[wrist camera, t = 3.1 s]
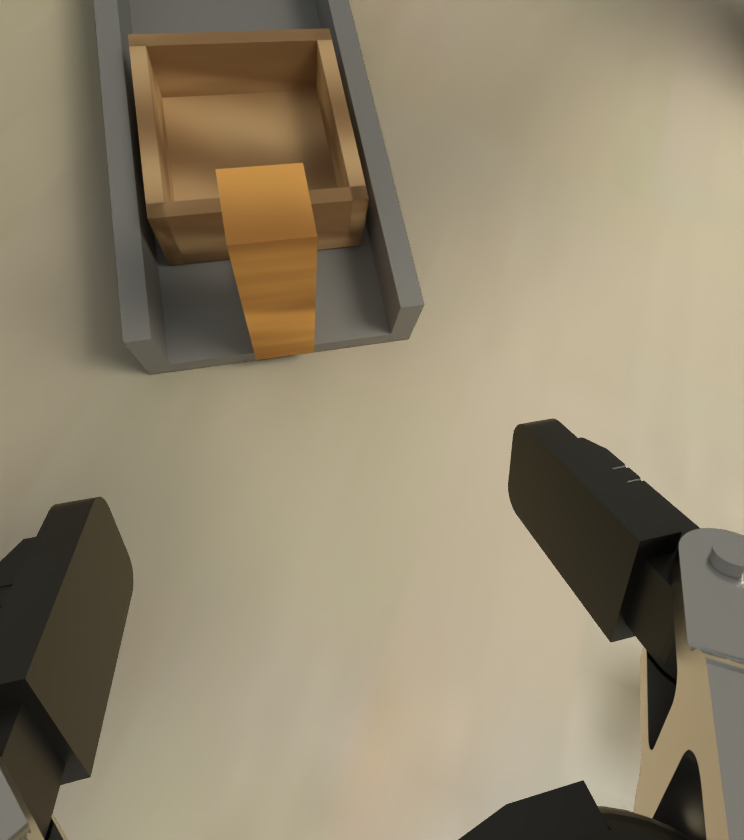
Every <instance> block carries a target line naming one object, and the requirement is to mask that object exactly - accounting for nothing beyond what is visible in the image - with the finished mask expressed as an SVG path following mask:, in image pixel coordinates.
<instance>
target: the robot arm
mask: <svg viewBox="0 0 744 840" xmlns="http://www.w3.org/2000/svg"><path fill="white" fill-rule="evenodd" d="M508 492H509V498H510V501H511V504H512V507H513V509H514V511H515V513H516V514H517V516H518V517H519V518H520V520H521V521H522V523H523V524H524V525H525V527H526V528H527V529H528V531H529V532H530V533H531V535H532V536H533V538H534V539H535V540H536V542H537V543H538V544H539V546H540V547H541V548H542V550H543V551H544V552H545V554H546V555H547V557H548V558H549V559H550V561H551V562H552V563H553V565H554V566H555V567H556V569H557V570H558V572H559V573H560V574H561V576H562V577H563V578H564V580H565V581H566V582H567V584H568V585H569V586H570V588H571V589H572V591H573V592H574V593H575V595H576V596H577V597H578V599H579V600H580V601H581V603H582V604H583V606H584V607H585V608H586V610H587V611H588V612H589V614H590V615H591V616H592V618H593V619H594V620H595V622H596V623H597V625H598V626H599V627H600V629H601V630H602V631H603V633H604V634H605V635H606V637H607V638H608V640H609V641H610V642H614V641H618V640H622V639H626V638H630V637H633V636H636V637H637V639H638V640H639V641H640V642H641V644H642V645H643V646H644V647H643V650H642V653H641V657H640V714H641V763H640V774H639V780H638V785H637V790H636V796H635V804H634V812H630V811H627V810H622V809H616V808H610V807H603V806H597V805H596V803H595V801H594V799H593V797H592V795H591V794H590V792H589V790H588V788H587V786H586V784H585V782H584V781H580V782H576V783H573V784H570V785H567V786H564V787H560V788H557V789H554V790H551V791H548V792H544V793H541V794H538V795H535V796H532V797H529V798H525V799H522V800H519V801H516V802H513V803H509V804H506V805H505V806H504V807H502V808H501V809H499V810H498V811H497V812H495V813H494V814H493V815H491V816H490V817H489V818H487V819H486V820H484V821H483V822H482V823H480V824H479V825H478V826H476V827H475V828H474V829H472V830H471V831H469V832H468V833H467V834H465V835H464V836H463V837H461V838H460V839H459V840H744V535H741V534H738V533H735V532H731V531H727V530H722V529H714V528H701V529H700V528H699V527H698V526H697V525H696V524H694V523H693V522H692V521H691V520H690V519H689V518H687V517H686V516H685V515H684V514H683V513H682V512H680V511H679V510H678V509H677V508H676V507H674V506H673V505H672V504H671V503H670V502H669V501H667V500H666V499H665V498H664V497H663V496H662V495H660V494H659V493H658V492H657V491H656V490H654V489H653V488H652V487H651V486H650V485H649V484H647V483H646V482H645V481H641V480H640V477H639V476H638V475H637V474H636V473H635V472H633V471H632V470H631V469H630V468H626V467H625V464H624V463H623V462H622V461H620V460H619V459H618V458H617V457H616V456H615V455H613V454H612V453H611V452H610V451H609V450H608V449H606V448H604V447H602V446H599V445H597V444H595V443H593V442H591V441H589V440H587V439H585V438H577V437H576V436H575V435H574V434H573V433H571V432H570V431H569V430H568V429H567V428H566V427H565V426H564V425H563V424H561V423H560V422H559V421H558V420H556V419H547V420H541V421H536V422H530V423H524V424H519V425H517V426H516V428H515V430H514V434H513V442H512V452H511V461H510V471H509V481H508ZM132 591H133V570H132V565H131V561H130V557H129V555H128V552H127V550H126V547H125V545H124V543H123V540H122V538H121V535H120V533H119V530H118V528H117V525H116V523H115V521H114V518H113V516H112V513H111V511H110V508H109V506H108V504H107V502H106V501H105V500H104V499H103V498H102V497H96V498H90V499H84V500H78V501H73V502H67V503H61V504H56V505H54V506H52V507H51V509H50V510H49V512H48V514H47V516H46V518H45V520H44V522H43V524H42V526H41V528H40V530H39V532H38V534H37V536H36V537H33V538H27V539H23V540H22V541H21V542H20V543H19V544H18V545H17V546H16V547H15V548H14V549H13V550H12V551H11V552H10V553H9V554H8V555H7V556H6V557H5V558H3V559H2V560H1V561H0V840H68V839H67V837H66V836H65V834H64V832H63V830H62V828H61V827H60V825H59V823H58V821H57V820H56V818H55V817H54V816H53V814H52V813H53V809H54V806H55V802H56V798H57V794H58V791H59V787H60V785H62V784H66V783H70V782H74V781H77V780H81V779H85V778H89V777H91V772H92V768H93V763H94V759H95V755H96V750H97V746H98V741H99V737H100V733H101V728H102V724H103V719H104V715H105V711H106V706H107V702H108V697H109V693H110V689H111V684H112V680H113V675H114V671H115V667H116V662H117V658H118V653H119V649H120V645H121V640H122V636H123V631H124V627H125V623H126V618H127V614H128V609H129V605H130V601H131V596H132Z"/></svg>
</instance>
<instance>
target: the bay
mask: <svg viewBox="0 0 744 840" xmlns="http://www.w3.org/2000/svg"><path fill="white" fill-rule="evenodd" d="M93 1H94V13H95V24H96V36H97V48H98V59H99V71H100V83H101V94H102V106H103V118H104V129H105V141H106V152H107V164H108V176H109V187H110V199H111V211H112V222H113V234H114V246H115V257H116V269H117V281H118V292H119V304H120V316H121V327H122V339H123V344H124V345H125V346H126V347H127V348H128V349H129V351H130V352H131V353H132V354H133V355H134V357H135V358H136V359H137V360H138V361H139V362H140V364H141V365H142V366H143V367H144V368H145V370H146V371H147V372H148V373H149V374H150V375H151V374H159V373H166V372H173V371H180V370H188V369H195V368H202V367H209V366H217V365H224V364H231V363H238V362H246V361H253V360H256V358H255V354H254V350H253V346H252V342H251V338H250V334H249V331H248V327H247V323H246V319H245V315H244V311H243V307H242V303H241V299H240V295H239V292H238V288H237V284H236V280H235V276H234V272H233V268H232V264H231V260H230V259H224V260H215V261H205V262H196V263H186V264H176V265H169V264H168V262H167V260H166V257H165V255H164V253H163V251H162V249H161V247H160V245H159V242H158V240H157V238H156V236H155V234H154V232H153V230H152V227H151V225H150V223H149V221H148V219H147V211H146V201H145V192H144V182H143V173H142V163H141V154H140V144H139V135H138V125H137V116H136V107H135V97H134V88H133V78H132V69H131V59H130V50H129V40H128V34H158V33H192V32H226V31H261V30H295V29H329V30H330V34H331V38H332V42H333V47H334V51H335V55H336V60H337V64H338V68H339V73H340V77H341V81H342V85H343V90H344V94H345V98H346V103H347V107H348V111H349V116H350V120H351V124H352V128H353V133H354V137H355V141H356V146H357V150H358V154H359V158H360V163H361V167H362V171H363V176H364V180H365V184H366V189H367V193H368V197H369V202H368V207H367V213H366V219H365V225H364V231H363V237H362V243H361V245H359V246H350V247H340V248H331V249H321V250H317V272H316V306H315V339H314V352H318V351H325V350H332V349H340V348H347V347H354V346H361V345H369V344H376V343H383V342H390V341H398V340H405V339H409V337H410V335H411V333H412V331H413V328H414V326H415V324H416V322H417V320H418V317H419V315H420V313H421V311H422V309H423V306H424V301H423V297H422V293H421V289H420V285H419V281H418V277H417V273H416V269H415V265H414V261H413V257H412V253H411V249H410V245H409V241H408V237H407V233H406V229H405V225H404V221H403V217H402V213H401V209H400V205H399V201H398V197H397V193H396V189H395V185H394V181H393V177H392V173H391V169H390V165H389V161H388V157H387V153H386V149H385V145H384V141H383V137H382V133H381V129H380V125H379V121H378V117H377V113H376V109H375V105H374V101H373V97H372V93H371V88H370V84H369V80H368V76H367V72H366V68H365V64H364V60H363V56H362V52H361V48H360V44H359V40H358V36H357V32H356V28H355V24H354V20H353V16H352V12H351V8H350V4H349V0H93ZM310 353H311V352H310ZM303 354H304V353H303ZM288 356H289V355H288ZM281 357H282V356H281ZM274 358H275V357H274ZM259 360H260V359H259Z"/></svg>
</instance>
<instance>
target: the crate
mask: <svg viewBox="0 0 744 840" xmlns="http://www.w3.org/2000/svg"><path fill="white" fill-rule="evenodd" d="M128 40H129V50H130V59H131V69H132V78H133V88H134V97H135V107H136V116H137V125H138V135H139V144H140V154H141V163H142V173H143V182H144V192H145V201H146V211H147V219H148V221H149V223H150V225H151V227H152V230H153V232H154V234H155V236H156V238H157V240H158V242H159V245H160V247H161V249H162V251H163V253H164V255H165V257H166V260H167V262H168V264H169V265H176V264H186V263H196V262H205V261H215V260H224V259H230V260H231V264H232V268H233V272H234V276H235V280H236V284H237V288H238V292H239V295H240V299H241V303H242V307H243V311H244V315H245V319H246V323H247V327H248V331H249V334H250V338H251V342H252V346H253V350H254V354H255V358H256V360H259V359H267V358H274V357H281V356H288V355H296V354H303V353H310V352H314V339H315V306H316V272H317V250H321V249H331V248H340V247H350V246H359V245H361V243H362V237H363V231H364V225H365V219H366V213H367V207H368V202H369V197H368V193H367V189H366V184H365V180H364V176H363V171H362V167H361V163H360V158H359V154H358V150H357V146H356V141H355V137H354V133H353V128H352V124H351V120H350V116H349V111H348V107H347V103H346V98H345V94H344V90H343V85H342V81H341V77H340V73H339V68H338V64H337V60H336V55H335V51H334V47H333V42H332V38H331V34H330V30H329V29H295V30H261V31H226V32H192V33H158V34H128Z"/></svg>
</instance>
